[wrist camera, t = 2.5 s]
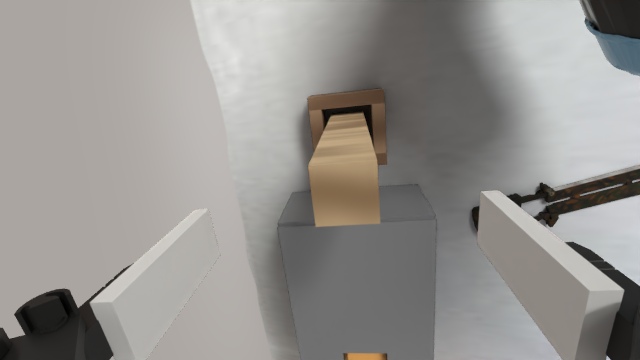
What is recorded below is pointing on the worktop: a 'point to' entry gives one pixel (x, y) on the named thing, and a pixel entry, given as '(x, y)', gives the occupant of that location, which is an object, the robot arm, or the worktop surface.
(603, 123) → the worktop surface
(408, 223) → the box
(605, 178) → the knife
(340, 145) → the light wood square bar
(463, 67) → the worktop surface
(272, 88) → the worktop surface
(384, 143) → the square wooden socket
